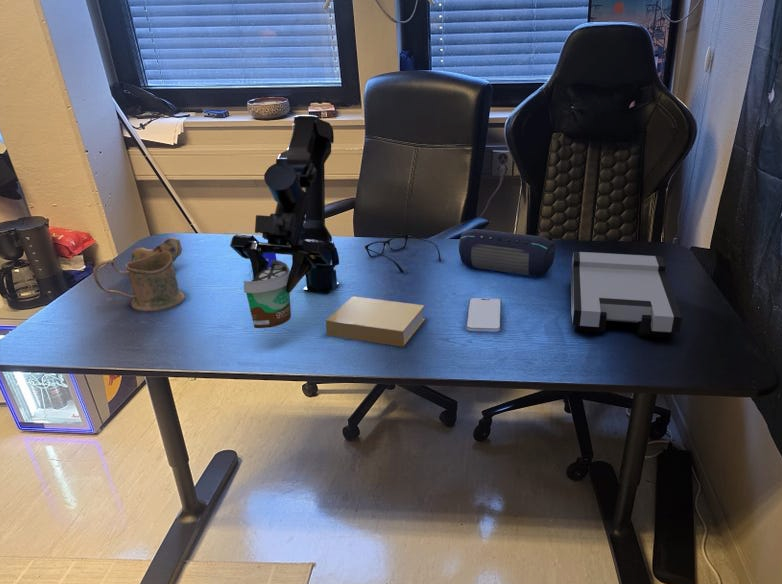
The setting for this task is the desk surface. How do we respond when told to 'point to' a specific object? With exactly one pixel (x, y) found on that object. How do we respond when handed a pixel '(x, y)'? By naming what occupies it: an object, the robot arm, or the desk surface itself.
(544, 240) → the portable speaker
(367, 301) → the book
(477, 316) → the smartphone
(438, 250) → the eyeglasses
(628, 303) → the game console
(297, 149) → the robot arm
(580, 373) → the desk surface
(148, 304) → the mug
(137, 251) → the lion figurine
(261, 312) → the food container
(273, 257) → the die
